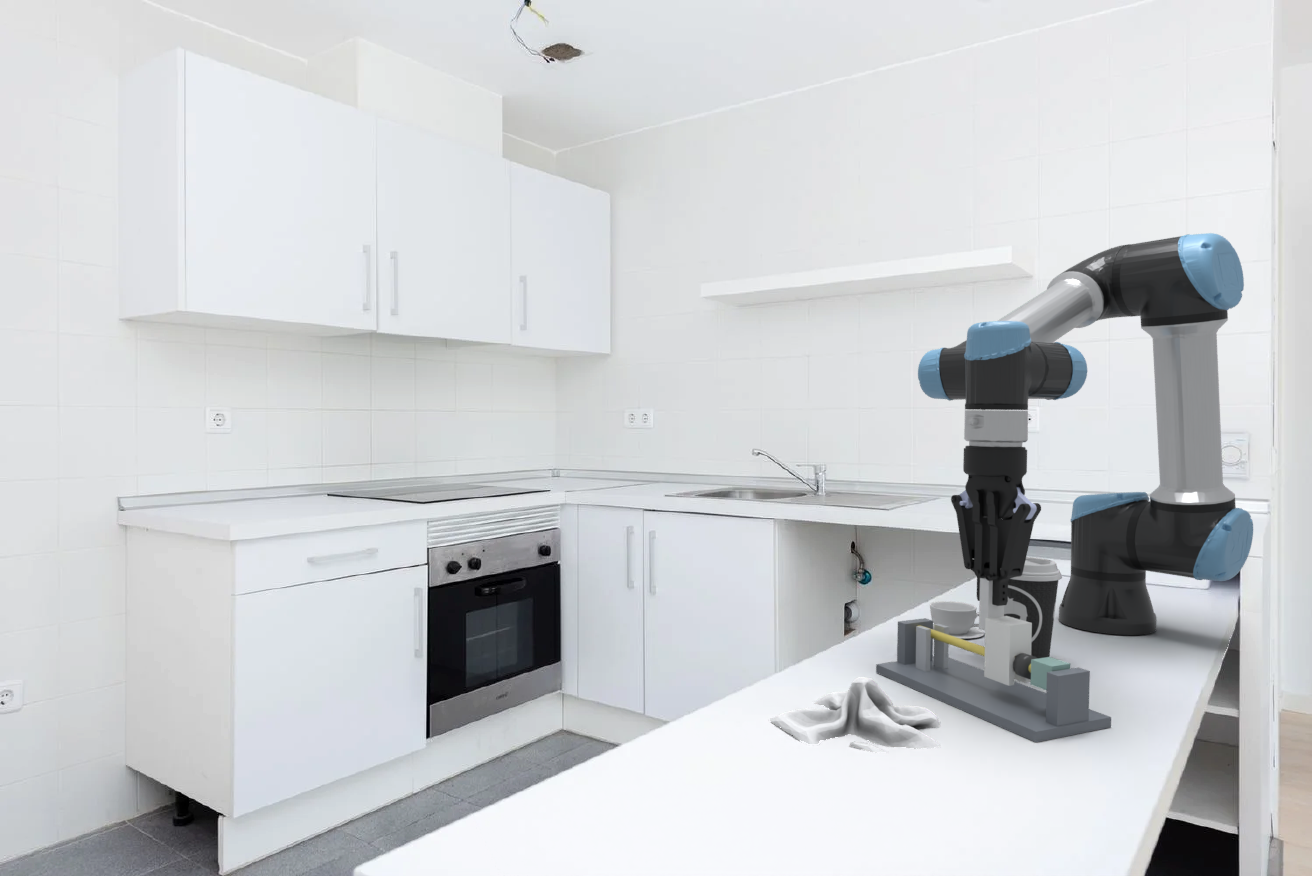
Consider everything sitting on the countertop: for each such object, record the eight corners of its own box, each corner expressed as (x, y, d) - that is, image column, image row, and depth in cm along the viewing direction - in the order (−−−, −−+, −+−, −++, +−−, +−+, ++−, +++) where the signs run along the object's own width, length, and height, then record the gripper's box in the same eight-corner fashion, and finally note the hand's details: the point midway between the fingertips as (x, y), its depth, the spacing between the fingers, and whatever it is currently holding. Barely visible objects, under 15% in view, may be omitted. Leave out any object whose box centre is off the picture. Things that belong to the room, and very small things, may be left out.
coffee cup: (1067, 673, 123) (1070, 568, 123) (996, 668, 125) (998, 565, 125) (1051, 654, 132) (1053, 556, 132) (985, 650, 134) (987, 554, 134)
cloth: (750, 737, 99) (751, 684, 99) (811, 693, 115) (812, 647, 115) (951, 783, 88) (952, 723, 87) (988, 727, 103) (989, 676, 103)
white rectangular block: (984, 676, 110) (985, 618, 109) (1005, 673, 111) (1006, 615, 111) (1008, 685, 106) (1010, 625, 106) (1030, 682, 107) (1031, 623, 107)
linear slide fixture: (876, 672, 123) (877, 619, 122) (942, 663, 127) (943, 612, 127) (1035, 742, 97) (1037, 676, 97) (1111, 727, 102) (1112, 663, 102)
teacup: (919, 637, 143) (919, 609, 143) (924, 624, 152) (924, 597, 152) (984, 644, 139) (984, 615, 139) (985, 629, 148) (985, 602, 148)
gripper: (936, 442, 114) (932, 620, 115) (1013, 446, 103) (1008, 644, 103) (979, 442, 118) (975, 615, 118) (1059, 446, 106) (1054, 638, 106)
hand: (991, 628), depth 111 cm, fingers closed
